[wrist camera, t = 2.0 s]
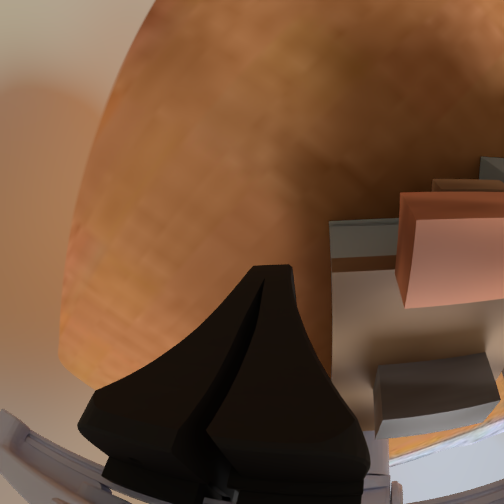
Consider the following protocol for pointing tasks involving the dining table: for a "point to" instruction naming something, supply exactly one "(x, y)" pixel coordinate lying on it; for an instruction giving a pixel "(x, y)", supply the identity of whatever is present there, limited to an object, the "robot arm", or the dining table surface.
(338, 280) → the lid
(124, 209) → the dining table surface
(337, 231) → the blue grey tray
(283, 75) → the dining table surface
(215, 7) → the dining table surface
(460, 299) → the salmon pink block
